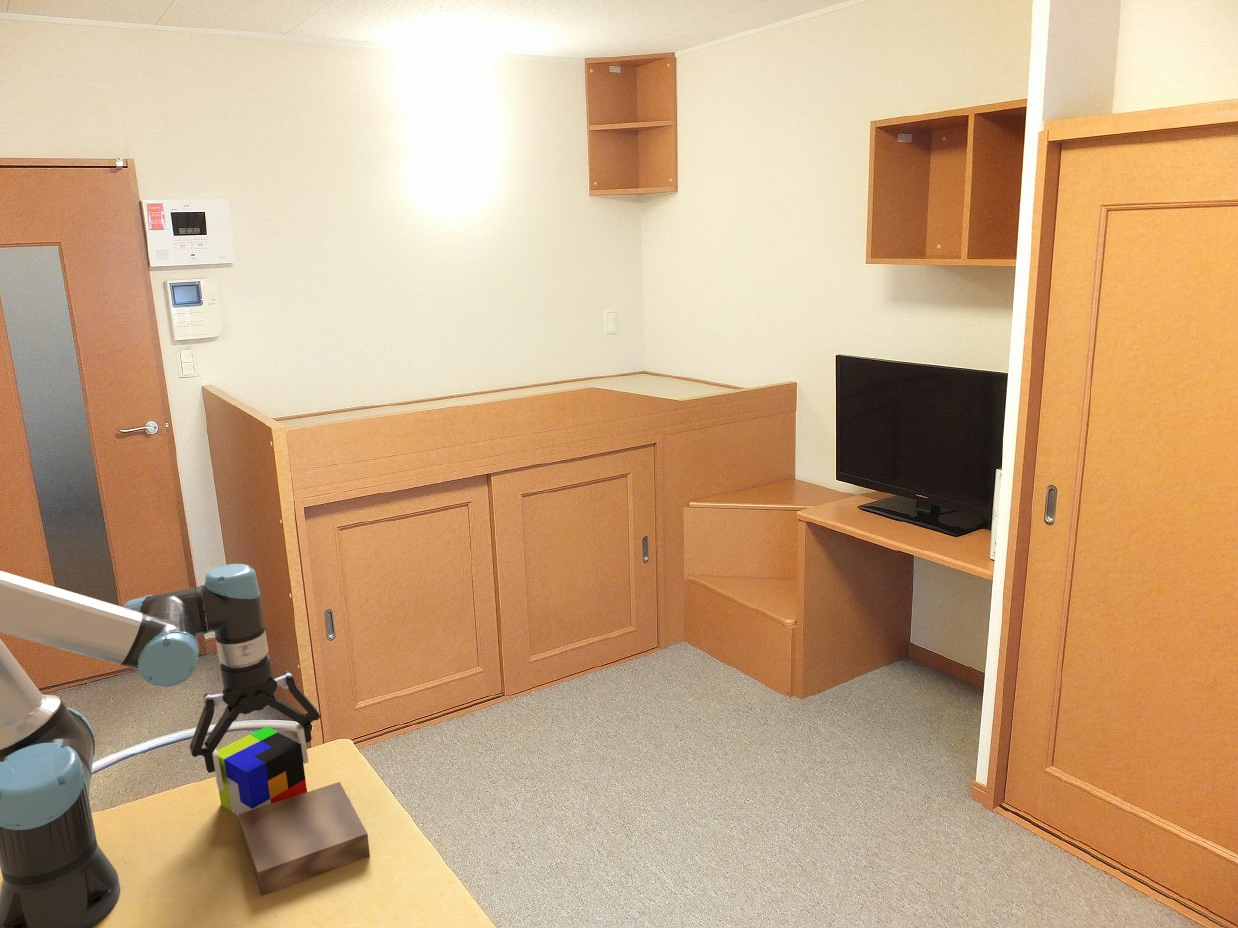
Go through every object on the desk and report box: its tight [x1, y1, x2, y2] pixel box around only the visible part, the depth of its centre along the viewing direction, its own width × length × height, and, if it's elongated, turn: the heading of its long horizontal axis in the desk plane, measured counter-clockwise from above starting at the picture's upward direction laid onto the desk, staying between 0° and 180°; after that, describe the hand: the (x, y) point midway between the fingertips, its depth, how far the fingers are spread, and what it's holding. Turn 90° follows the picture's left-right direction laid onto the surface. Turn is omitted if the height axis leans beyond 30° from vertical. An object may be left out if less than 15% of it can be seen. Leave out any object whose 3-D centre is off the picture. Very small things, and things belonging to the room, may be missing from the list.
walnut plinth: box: [237, 781, 371, 897], centre depth 145 cm, size 16×16×4 cm
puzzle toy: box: [216, 725, 308, 817], centre depth 156 cm, size 10×10×10 cm
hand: (263, 772), depth 156 cm, fingers open, 13 cm apart
